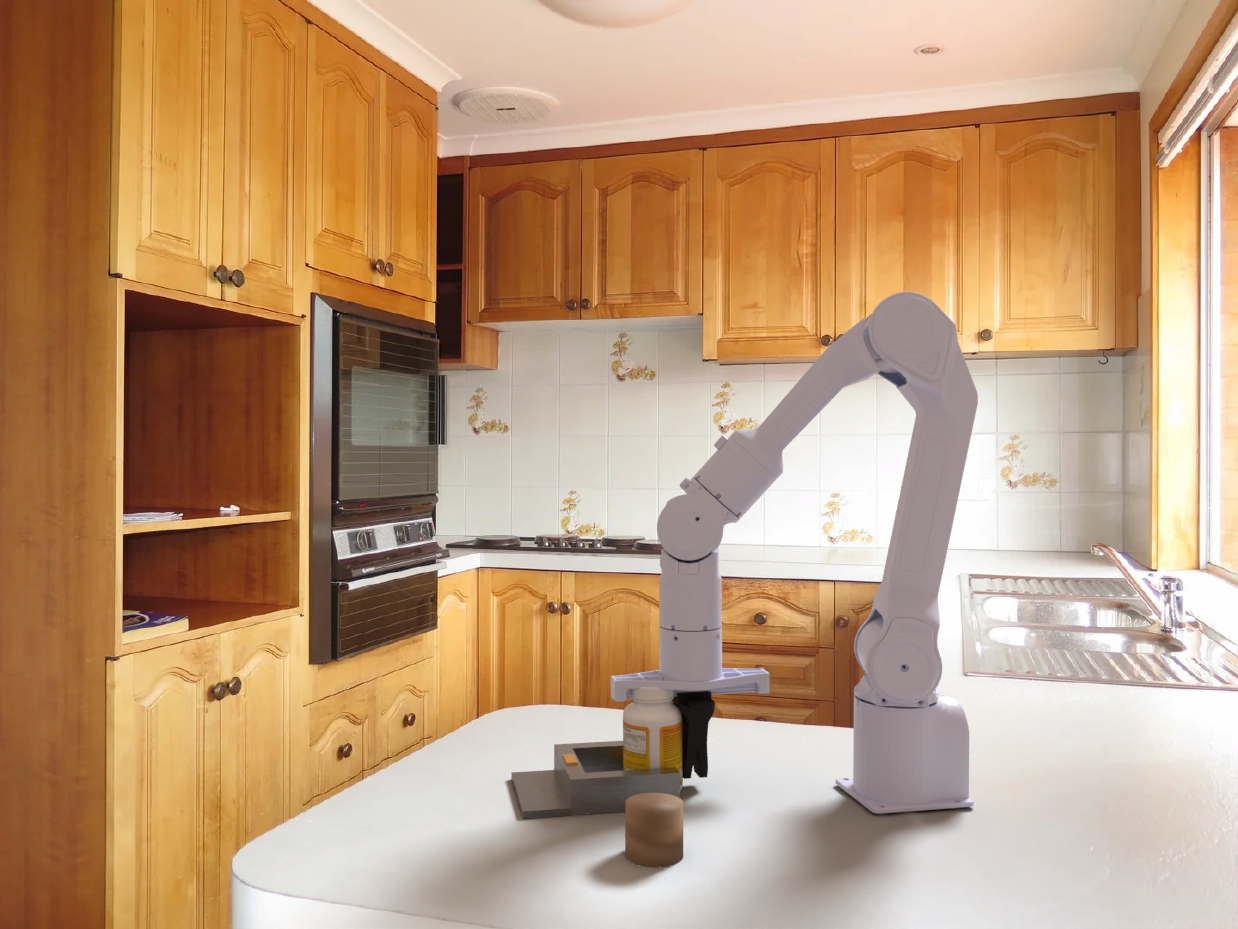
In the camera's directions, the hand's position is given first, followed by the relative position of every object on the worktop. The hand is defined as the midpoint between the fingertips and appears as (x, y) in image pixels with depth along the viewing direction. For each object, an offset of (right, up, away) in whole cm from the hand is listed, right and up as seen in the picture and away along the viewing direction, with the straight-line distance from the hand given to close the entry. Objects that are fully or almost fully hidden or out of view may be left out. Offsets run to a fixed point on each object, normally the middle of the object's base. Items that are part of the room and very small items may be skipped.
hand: (690, 774), depth 88 cm
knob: (-4, -1, -15) cm, 16 cm away
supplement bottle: (-4, -1, -1) cm, 4 cm away
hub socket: (-9, -1, -2) cm, 9 cm away
